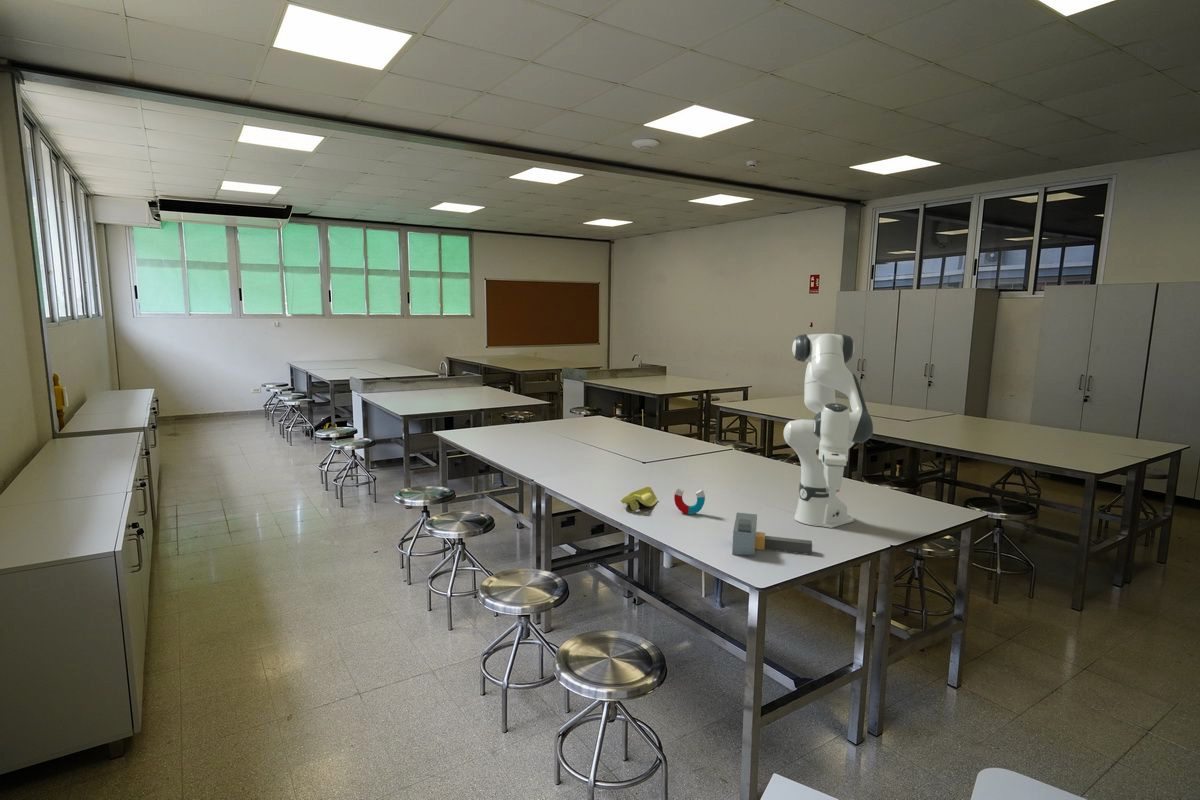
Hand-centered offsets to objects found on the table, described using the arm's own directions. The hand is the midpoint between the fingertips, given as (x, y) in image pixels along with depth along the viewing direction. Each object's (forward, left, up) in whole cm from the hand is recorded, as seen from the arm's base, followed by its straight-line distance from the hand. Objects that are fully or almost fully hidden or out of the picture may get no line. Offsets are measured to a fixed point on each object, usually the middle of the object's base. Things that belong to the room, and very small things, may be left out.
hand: (830, 496), depth 195 cm
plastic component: (+35, -69, -20) cm, 80 cm away
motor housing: (+20, -17, -20) cm, 33 cm away
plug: (+12, -10, -20) cm, 25 cm away
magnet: (+20, -53, -20) cm, 60 cm away
